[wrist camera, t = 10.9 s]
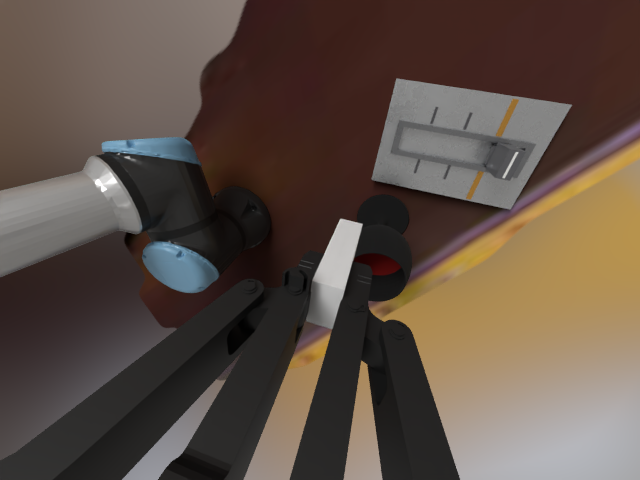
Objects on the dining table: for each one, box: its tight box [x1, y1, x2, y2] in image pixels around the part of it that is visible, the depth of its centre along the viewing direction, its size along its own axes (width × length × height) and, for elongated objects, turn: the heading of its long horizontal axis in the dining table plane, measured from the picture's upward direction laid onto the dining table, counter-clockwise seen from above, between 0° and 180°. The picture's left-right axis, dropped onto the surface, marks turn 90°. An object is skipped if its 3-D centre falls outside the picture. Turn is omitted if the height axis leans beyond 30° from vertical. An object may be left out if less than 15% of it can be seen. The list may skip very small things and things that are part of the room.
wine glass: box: [353, 195, 412, 301], centre depth 45 cm, size 10×10×20 cm
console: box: [372, 79, 572, 209], centre depth 42 cm, size 24×16×3 cm, turn 82°
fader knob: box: [484, 142, 526, 181], centre depth 38 cm, size 2×4×6 cm, turn 172°
